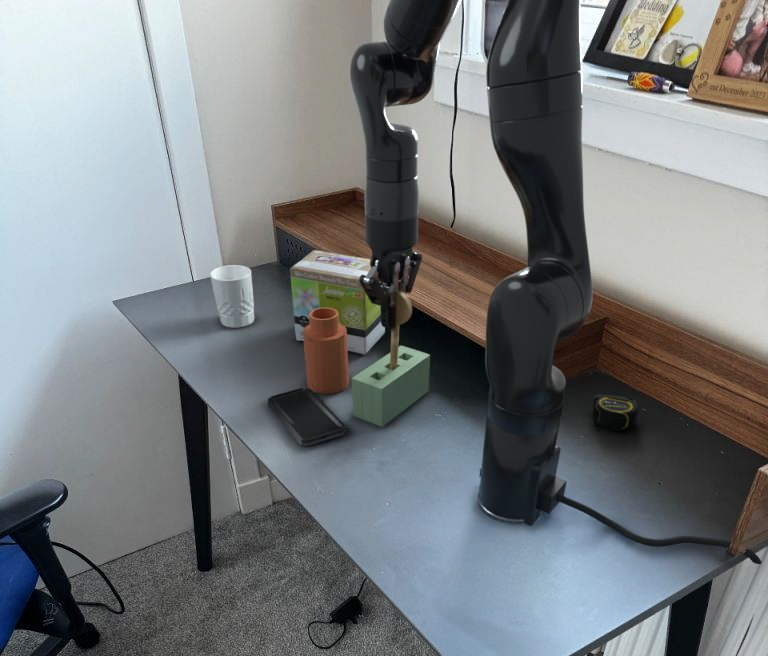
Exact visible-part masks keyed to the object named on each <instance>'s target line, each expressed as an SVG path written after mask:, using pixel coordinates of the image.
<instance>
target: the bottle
mask: <svg viewBox="0 0 768 656" xmlns="http://www.w3.org/2000/svg"><path fill="white" fill-rule="evenodd" d="M309 323H310V325H308V326H306V327H305V328H304V329H303V339H304V341H303V351H304V360H305V362H304V363H305V371H306V372H305V373H306V374H305V375H306V383H307V388H310V389H311V390H312V391H313V392H314V393H317V394H322V395H332V394H337V393H341V392H342V391H344V390H346V389H347V388H348V386H349V383H350V381H349V379H350V378H349V355H348V354H349V353H348V352H349V351H347V330H346V328H345V326H344V325H342V324H340V323H339V314H338V311H337V310H335V309H333V308H327V307H323V308H317V309H314V310H312V311H310V313H309Z"/></svg>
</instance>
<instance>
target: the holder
mask: <svg viewBox="0 0 768 656" xmlns="http://www.w3.org/2000/svg"><path fill="white" fill-rule="evenodd" d="M430 366H431V354H430V353H429V354H428V353H426V352H423V351H420V350H416V349H414V348H410V347H407V346H404V345H398V362H397V368H396V369H394V370H391V369H390V352H389V353H387V354H386V355H384V356H383V357H381V358H380V359H378V360H377V361H375V362H373V363H372V364H371V365H369V366H367V368H365V369H363V370H362V371H360V372H359V373H357V374H356V375H354V376H353V377H351V392H352V393H351V394H352V415H353V417H356V418H358V419H361V420H363V421H365V422H368V423H371V424H373V425H375V426H378V427H381V428H383V427H384V426H386V425H387V424H388V423H390V422H391V421H392V420H394V419H395V418H396V417H398V416H399V415H400V414H401V413H403V412H404V411H405V410H407V409H408V408H409V407H410V406H411V405H413V404H414V403H416V402H417V401H418V400H419V399H421V398H422V397H423V396H425V395H426V394H428V393H429V391H430V369H431V368H430Z"/></svg>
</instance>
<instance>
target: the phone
mask: <svg viewBox="0 0 768 656" xmlns="http://www.w3.org/2000/svg"><path fill="white" fill-rule="evenodd" d="M267 406H268V408H269V409H270V410H271V412H272V413H273V414H274V415H275V416H276V418H277V419H278V420H279V421H280V423H282V425H283V426H284V427H285V428H286V429H287V431H288V432H289V433H290V434H291V435H292V436H293V437H294V439H295V440H296V442H297V443H298V444H299V445H300V446H301V447H302V446H303V447H310V446H313V445H317V444H320V443H324V442H326V441H329V440H332V439H335V438H340V437H342V436H344V435H345V434H346V425H345V423H344V422H343V421H342V420H341V419H340V418H339V417H338V416H337V415H336V414H335V413H334V412H333V411H332V410H331V408H329V407H328V405H326V404H325V402H323V400H321V399H320V397H319V396H318V395H316V392H314V391H312V390H311V389H310V388H309V387H305V386H304V387H299V388H296V389H292V390H289V391H286V392H281V393H278V394H275V395H271V396H269V397H268V398H267Z"/></svg>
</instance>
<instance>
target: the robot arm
mask: <svg viewBox="0 0 768 656" xmlns="http://www.w3.org/2000/svg"><path fill="white" fill-rule="evenodd" d="M461 1H462V0H389V2H388V4H387V6H386V10H385V13H384V17H383V22H382V23H383V25H382V27H383V29H382V30H383V34H384V37H385V41H372V42H365V43H362V44H361V45H359V46H358V47H357V48H356V49H355V50H354V52H353V54H352V57H351V59H350V63H349V69H348V76H349V84H350V89H351V92H352V96H353V99H354V102H355V106H356V109H357V114H358V118H359V121H360V125H361V132H362V134H363V135H362V136H363V141H364V149H365V150H364V151H365V152H364V154H365V185H364V187H365V188H364V224H365V225H364V227H365V229H364V230H365V232H364V233H365V243H366V245H367V246H368V247H369V248H370V250H371V257H370V259H371V260H370V266H371V269H370V271H369V272H368V274H367V276H366V275H361V276H360V279H359V281H360V284H361V285H362V287H363V289H364V291H365V292H366V294H367V296H368V298H369V300H370V301H371V303H373V304H376V305H379V306H381V324H382V326H383V327H385V329H388V330H391V329H393V328H395V326H396V306H395V299H396V291H397V290H400V291H402V292H404V293H405V294H406V295H407V294H411V293H412V292H413V289H414V288H413V287H414V285H415V281H416V279H417V275H418V272H419V269H420V267H421V263H422V260H423V255H422V253H417V252H414V250H413V248H414V247H415V246H416V245H417V244H418V241H419V202H420V201H419V200H420V193H419V182H418V165H419V164H418V163H419V162H418V159H419V158H418V157H419V140H418V139H419V138H418V135H417V132H416V130H415V129H414V128H412V127H411V126H407V125H404V124H399V123H392V122H389V120H388V118H387V115H386V108H390V107H398V106H408V105H415V104H418V103H419V102H421V101H422V100H424V99H425V98H426V97H427V95H429V94H430V92H431V90H432V88H433V86H434V82H435V74H436V67H437V61H438V57H439V52H440V48H441V47H440V46H441V41H442V39H443V38H444V37H445V34H446V32H447V30H448V28H449V26H450V24H451V22H452V21H453V19H454V17H455V15H456V13H457V10H458V9H459V6H460V4H461ZM503 8H504V9H503V11H502V14H501V16H500V19H499V21H498V24H497V27H496V29H495V33H494V35H493V39H492V41H491V44H490V49H489V51H488V56H487V61H486V68H485V75H486V76H485V77H486V79H485V80H486V81H485V82H486V87H487V88H486V93H487V107H488V108H487V109H488V120H489V130H490V137H491V142H492V146H493V148H494V151H495V154H496V156H497V159H498V161H499V164H500V166H501V167H502V170H503V172H504V173H505V175H506V178H507V179H508V182H509V183H510V185H511V186H512V188H513V190H514V192H515V194H516V197H517V198H518V201H519V203H520V205H521V209H522V212H523V216H524V221H525V222H524V223H525V229H526V242H527V245H526V246H527V260H526V261H527V262H526V267H525V268H523V269H521V270H519V271H517V272H515V273H513V274H511V275H508V276H506V277H504V278H503V279H502V280H500V281H499V282H498V283H497V285H496V286H494V288H493V291H492V292H491V296H490V298H489V301H488V304H487V305H488V306H487V312H486V324H485V346H484V347H485V349H484V350H485V351H484V368H485V374H486V377H487V380H488V384H489V385H488V386H489V388H488V398H487V409H486V417H485V426H484V427H485V428H484V438H483V448H482V459H481V468H480V469H479V478H480V480H479V488H478V494H477V504H478V506H479V508H480V510H481V512H483V513H484V514H485V515H487V516H488V517H489V518H491V519H493V520H496V521H497V522H502V523H504V524H517V525H519V524H525V525H527V526H530V527H531V526H533V525H534V524H535V523H536V522H537V521H538V519H539V518H540V517H542V515H543V514H544V513H546V514H547V515H550V514H551V513H552V512H553V510H554V509H556V507H557V506H558V505H559V504H560V503H561V504H563V505H566V506H568V507H571V508H573V509H575V510H577V511H579V512H581V513H584V514H586V515H588V516H590V517H591V518H593V519H595V520H596V521H598V522H600V523H602V524H603V525H605V526H607V527H609V528H611V529H612V530H614V531H615V532H617V533H618V534H620V535H622V536H623V537H625V538H627V539H628V540H630V541H632V542H634V543H637V544H641V545H644V546H647V547H648V546H649V547H658V548H659V547H661V548H662V547H668V546H675V545H680V544H681V545H682V544H695V545H705V546H715V547H722V548H727V549H730V548H729V546H730V544H731V541H732V540H728V539H723V538H714V537H703V536H695V535H679V536H672V537H668V538H660V539H659V538H648V537H645V536H641V535H638V534H636V533H634V532H632V531H631V530H629V529H627V528H625V527H624V526H622V525H621V524H619V523H618V522H616V521H614V520H612V519H611V518H609V517H607V516H605V515H603V514H602V513H600V512H598V511H597V510H595V509H593V508H591V507H590V506H587V505H585V504H583V503H581V502H578V501H577V500H574V499H572V498H570V497H567V496H565V492H566V488H567V480H566V479H564V478H561V477H558V476H557V472H558V466H559V460H560V455H561V450H562V449H561V447H560V446H557V441H558V435H559V429H560V423H561V418H562V412H563V408H564V407H563V406H564V400H565V395H566V390H567V380H566V377H565V374H564V373H563V372H562V370H560V368H558V367H557V366H555V365H553V363H554V354H555V347H556V345H557V344H559V343H561V342H563V341H564V340H566V339H567V338H569V337H571V336H572V335H574V334H575V333H576V332H577V333H578V332H579V330H580V329H581V328H583V326H584V325H585V323H586V322H587V321H588V318H589V317H590V313H591V311H592V305H593V280H592V271H591V269H592V268H591V261H590V253H589V244H588V238H587V237H588V236H587V229H586V219H585V217H586V216H585V204H584V203H585V200H584V198H585V197H584V163H583V160H584V159H583V72H582V70H583V67H582V50H581V0H506V2H505V6H504V7H503ZM386 292H388V297H386V295H385V293H386ZM747 548H748V549H746V550H745V551H746V552H745V553H742V552H740V553H741V554H742V555H744V556H746V557H747V558H749V560H750V561H751V562H752V563H753V564H756V565H761V564H762V560H761V558H760V557H759V555H757V554H756V553H755V551H753V550H751V549H750V548H749V547H747ZM754 616H755V614H753V615H752V617H751V619H750V621H749V624H748V627H747V629H746V631H745V633H744V635H743V638H742V640H741V642H740V644H739V646H738V649H737V651H736V654H735V656H738V655H739V653H740V651H741V648H742V647H743V645H744V642H745V640H746V638H747V636H748V633H749V631H750V628H751V625H752V622H753V619H754Z"/></svg>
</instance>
